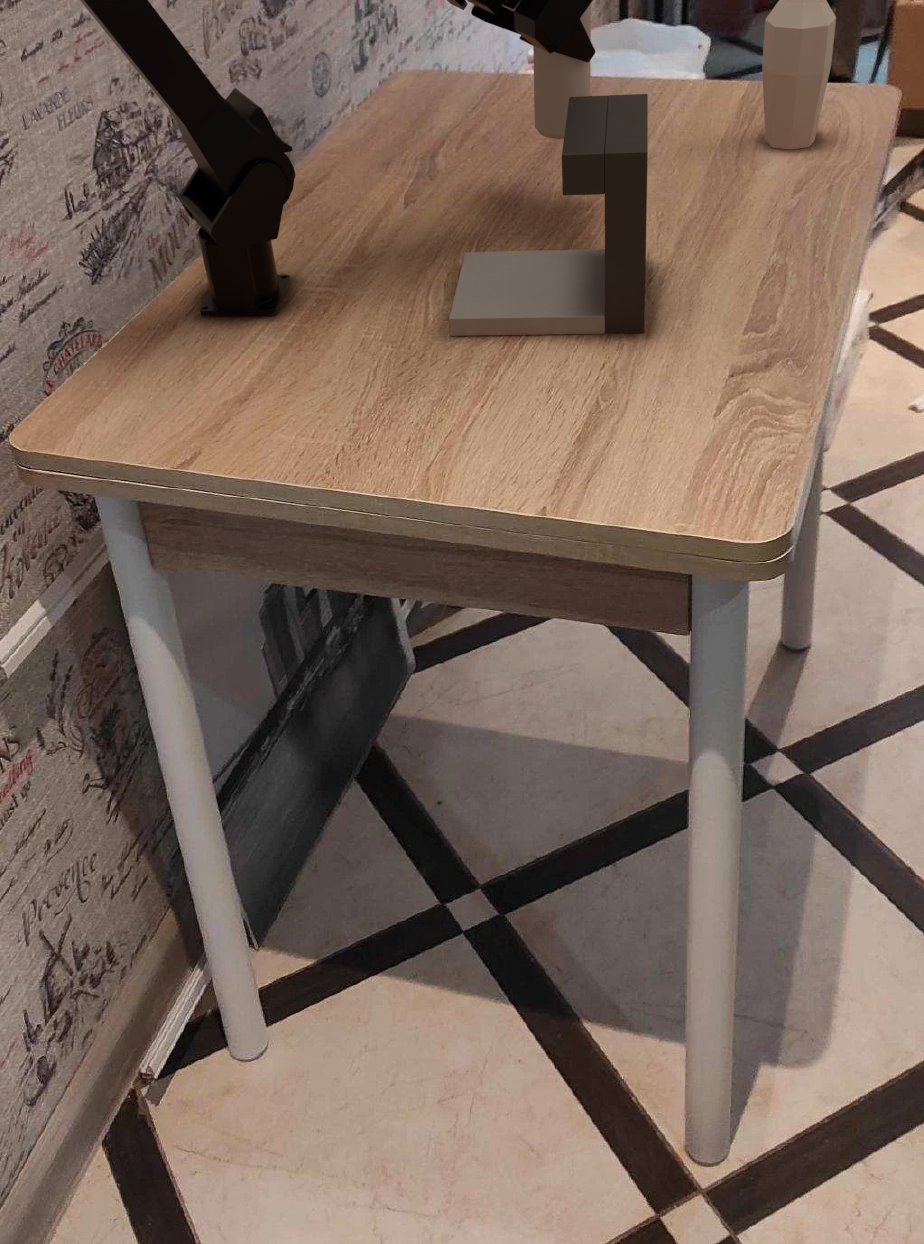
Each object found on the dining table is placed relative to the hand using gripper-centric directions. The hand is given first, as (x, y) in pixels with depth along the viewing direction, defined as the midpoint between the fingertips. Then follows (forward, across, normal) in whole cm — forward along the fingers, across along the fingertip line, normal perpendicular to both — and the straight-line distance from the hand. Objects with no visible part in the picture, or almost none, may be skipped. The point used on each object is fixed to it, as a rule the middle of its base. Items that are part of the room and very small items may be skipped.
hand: (576, 49), depth 112 cm
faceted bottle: (+27, +2, -8) cm, 28 cm away
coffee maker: (+2, -15, +18) cm, 23 cm away
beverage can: (+4, 0, +6) cm, 7 cm away
